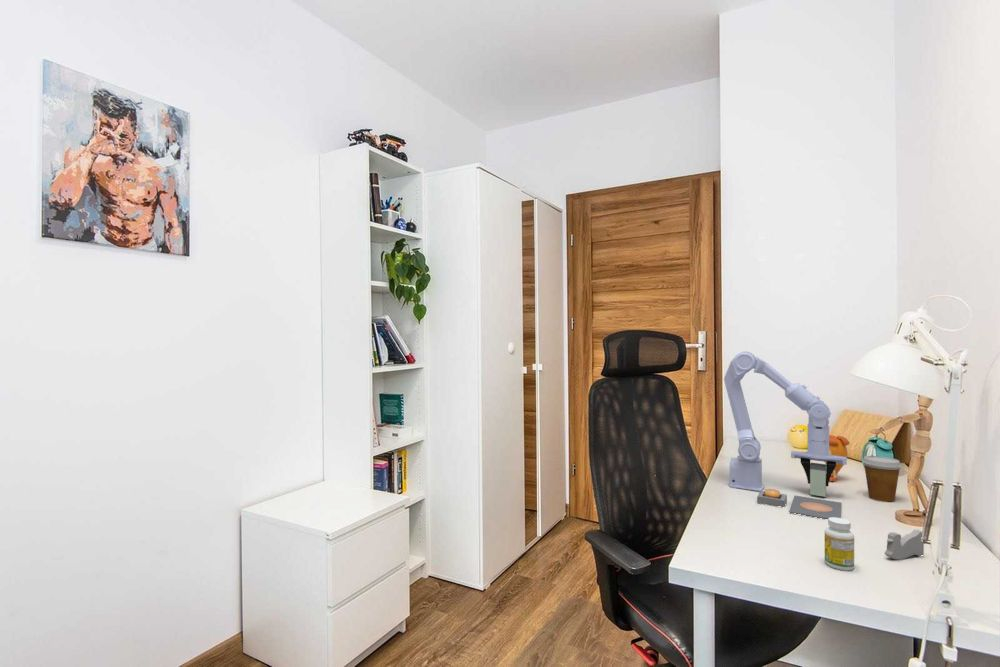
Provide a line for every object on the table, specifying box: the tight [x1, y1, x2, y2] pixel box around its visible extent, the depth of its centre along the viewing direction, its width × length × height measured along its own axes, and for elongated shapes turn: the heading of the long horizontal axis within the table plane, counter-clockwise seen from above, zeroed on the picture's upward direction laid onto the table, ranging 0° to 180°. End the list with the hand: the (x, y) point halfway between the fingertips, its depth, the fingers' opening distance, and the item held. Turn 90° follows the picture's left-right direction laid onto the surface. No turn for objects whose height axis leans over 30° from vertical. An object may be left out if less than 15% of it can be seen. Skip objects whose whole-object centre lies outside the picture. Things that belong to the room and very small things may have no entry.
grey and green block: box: [809, 462, 827, 498], centre depth 157 cm, size 4×4×9 cm
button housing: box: [756, 490, 788, 508], centre depth 151 cm, size 7×7×2 cm
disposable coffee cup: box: [862, 455, 902, 503], centre depth 155 cm, size 10×10×12 cm
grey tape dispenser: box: [884, 529, 925, 561], centre depth 113 cm, size 6×1×10 cm
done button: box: [764, 488, 781, 499], centre depth 151 cm, size 4×4×2 cm
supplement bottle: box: [824, 517, 855, 571], centre depth 109 cm, size 5×5×10 cm
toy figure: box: [823, 434, 850, 482], centre depth 175 cm, size 12×8×15 cm, turn 159°
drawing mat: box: [788, 494, 842, 520], centre depth 146 cm, size 12×18×1 cm, turn 146°
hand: (818, 484), depth 157 cm, fingers closed on grey and green block, 4 cm apart
